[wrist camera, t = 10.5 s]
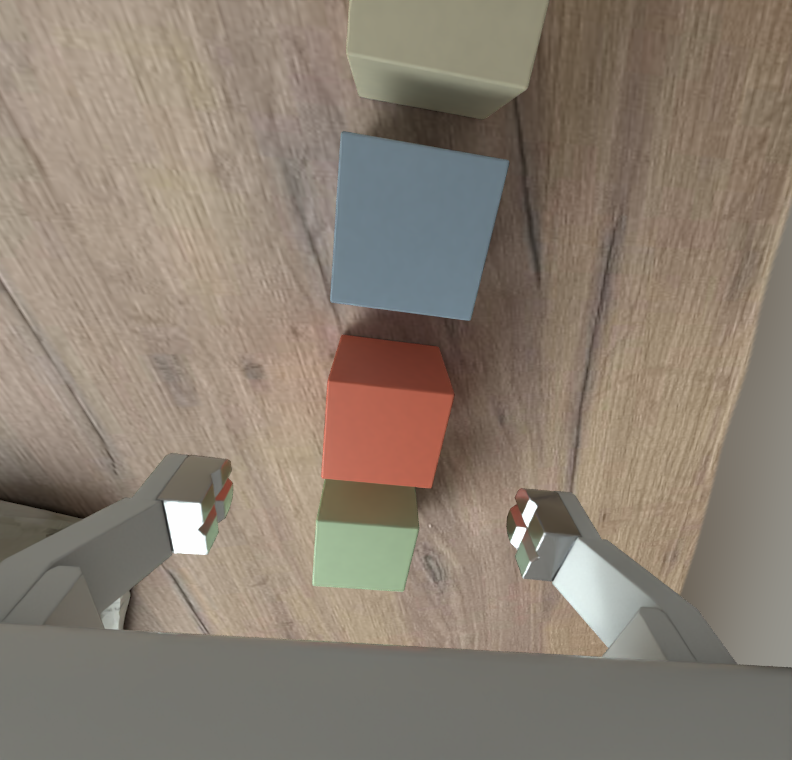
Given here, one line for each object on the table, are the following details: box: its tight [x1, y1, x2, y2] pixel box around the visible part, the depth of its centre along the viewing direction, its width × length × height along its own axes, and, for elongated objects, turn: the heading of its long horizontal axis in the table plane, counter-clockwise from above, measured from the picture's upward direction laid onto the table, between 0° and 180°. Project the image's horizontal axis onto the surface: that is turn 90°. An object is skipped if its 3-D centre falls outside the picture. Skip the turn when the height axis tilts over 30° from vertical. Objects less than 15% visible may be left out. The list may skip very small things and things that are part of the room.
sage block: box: [312, 479, 419, 592], centre depth 19 cm, size 4×4×4 cm
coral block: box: [321, 335, 455, 488], centre depth 16 cm, size 4×4×4 cm
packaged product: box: [0, 500, 131, 630], centre depth 22 cm, size 18×5×10 cm
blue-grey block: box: [330, 131, 509, 321], centre depth 13 cm, size 4×4×4 cm
